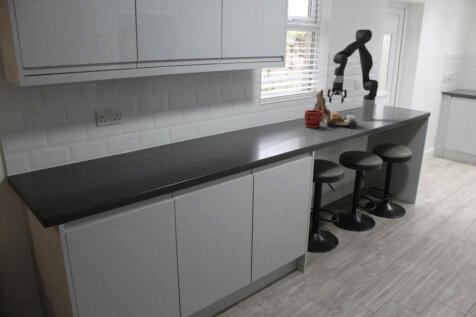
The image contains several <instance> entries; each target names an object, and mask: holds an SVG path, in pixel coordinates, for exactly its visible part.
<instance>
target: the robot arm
mask: <svg viewBox="0 0 476 317" xmlns="http://www.w3.org/2000/svg"><path fill="white" fill-rule="evenodd" d="M372 38H373V32H372V31H371V29H358V30H357V31H355V40H354V41H353V42H350V43H349V44H348V45H347V46H345V47H344V48H343V49H342V50H340V51H338V52H336V54H334V56H333V58H332V59H333V60H332V61H333V63H334V64H337V65H338V64H339V66H337V67H335V68H334V72H333V78H332V88H328V89H327V94H326V96H327V98H329V99H328V100H329V101H328V102H329V103H331V104H332V98H333V97H334V96H340V97H341V100H340V102H341V104H343V103H344V101H345V98H347V94H348V90H347V89H343V88H344V79H345V78H344V76H345V75H344V74H345V70H346V67H347V64H348V60H349V58H350V57H351V56H352V55H353V54H354V53H355V52H356V51H357V50H358V55H359V61H360V62H359V63H360V68H361V74H362V77H361V78H362V88H363V90H365V91H367V92H368V94H365V95H363V99H362V107H361V108H362V109H361V116H360V120H361V121H362V120H363V121H370V122H371V121H373V117H374V109H375V101H376V97H377V94H378V89H379V82H378V80H376V79H371V78H370V72H371V70H372V68H373V66H374V62H373V56H372V54H371V52H370V51H369V50H368V48H367V46H366V44H367V43H368V42H370V41H371V39H372ZM342 93H344V95H343V94H342Z"/></svg>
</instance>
